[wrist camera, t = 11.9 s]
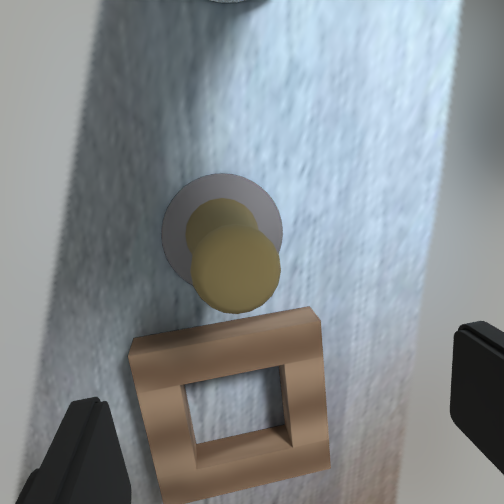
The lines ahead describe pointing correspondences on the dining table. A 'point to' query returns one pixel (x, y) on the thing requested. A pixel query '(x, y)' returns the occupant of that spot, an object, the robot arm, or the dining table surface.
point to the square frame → (223, 364)
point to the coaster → (209, 190)
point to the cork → (231, 257)
